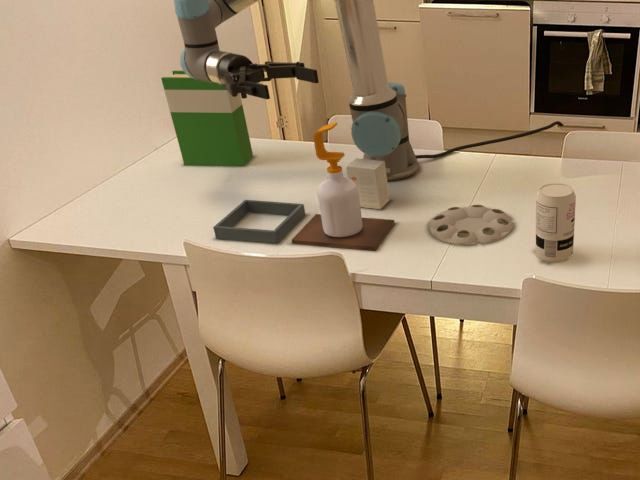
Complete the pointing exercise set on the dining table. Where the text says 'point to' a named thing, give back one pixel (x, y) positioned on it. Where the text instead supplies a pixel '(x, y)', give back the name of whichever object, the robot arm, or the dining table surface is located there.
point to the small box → (370, 182)
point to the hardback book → (207, 122)
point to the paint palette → (470, 225)
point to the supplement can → (555, 222)
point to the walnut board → (362, 240)
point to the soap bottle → (337, 194)
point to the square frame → (257, 235)
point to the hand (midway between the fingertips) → (292, 84)
